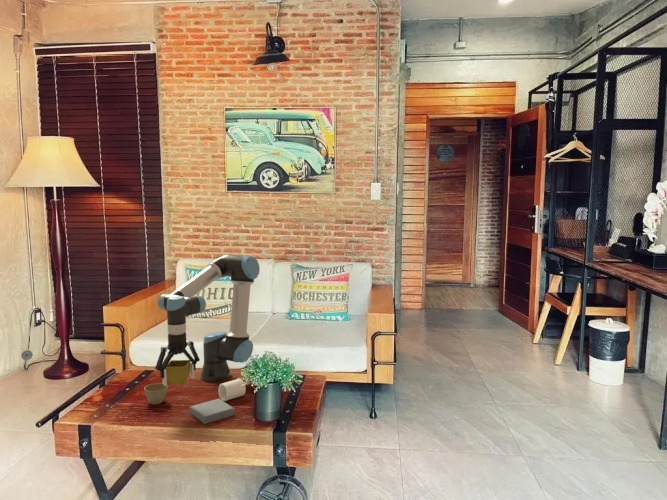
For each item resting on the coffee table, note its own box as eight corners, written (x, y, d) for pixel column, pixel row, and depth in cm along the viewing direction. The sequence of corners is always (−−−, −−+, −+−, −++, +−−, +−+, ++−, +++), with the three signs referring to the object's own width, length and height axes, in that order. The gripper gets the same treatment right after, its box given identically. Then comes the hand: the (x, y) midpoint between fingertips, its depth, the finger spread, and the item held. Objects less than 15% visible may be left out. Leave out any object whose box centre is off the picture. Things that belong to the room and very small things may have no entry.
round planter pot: (160, 407, 212) (159, 392, 211) (139, 405, 214) (139, 390, 213) (172, 399, 222) (171, 384, 221) (152, 397, 224) (152, 382, 223)
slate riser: (219, 404, 216) (219, 397, 216) (234, 414, 206) (234, 408, 206) (189, 412, 207) (189, 406, 207) (204, 424, 197) (204, 417, 197)
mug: (245, 397, 225) (245, 381, 224) (227, 403, 218) (227, 386, 217) (231, 390, 233) (231, 374, 233) (213, 395, 226) (213, 379, 226)
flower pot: (165, 387, 204) (164, 366, 203) (171, 379, 213) (170, 359, 212) (186, 387, 204) (185, 366, 203) (191, 379, 213) (190, 359, 212)
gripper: (199, 326, 216) (200, 372, 219) (145, 335, 201) (147, 385, 203) (206, 329, 211) (208, 377, 213) (152, 340, 195) (154, 391, 198)
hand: (178, 381), depth 208 cm, fingers closed on flower pot, 12 cm apart
